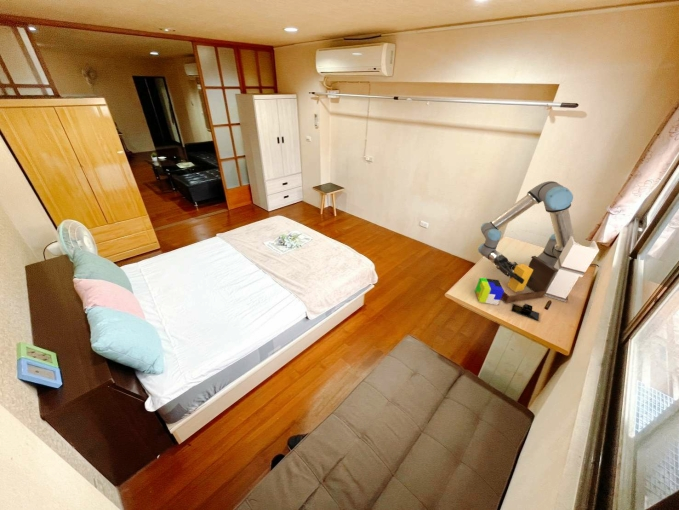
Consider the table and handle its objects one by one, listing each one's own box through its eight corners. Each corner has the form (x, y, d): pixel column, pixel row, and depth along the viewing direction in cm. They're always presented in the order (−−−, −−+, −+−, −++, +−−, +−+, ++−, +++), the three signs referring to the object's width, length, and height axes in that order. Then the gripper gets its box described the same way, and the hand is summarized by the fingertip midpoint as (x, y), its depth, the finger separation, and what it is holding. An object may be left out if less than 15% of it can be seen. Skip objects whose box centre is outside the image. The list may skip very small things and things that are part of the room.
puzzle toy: (497, 304, 148) (504, 290, 143) (479, 301, 150) (484, 288, 145) (492, 293, 157) (498, 280, 152) (475, 290, 158) (480, 277, 153)
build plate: (511, 311, 144) (514, 304, 142) (513, 304, 149) (516, 297, 147) (538, 321, 138) (541, 314, 136) (538, 313, 143) (542, 306, 141)
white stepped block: (566, 302, 152) (599, 250, 133) (544, 295, 156) (573, 244, 138) (564, 291, 160) (595, 241, 142) (543, 285, 165) (570, 235, 146)
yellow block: (515, 284, 161) (524, 264, 153) (523, 290, 156) (533, 269, 148) (507, 285, 160) (516, 265, 152) (514, 291, 155) (524, 271, 147)
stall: (522, 281, 168) (535, 255, 158) (544, 297, 155) (559, 270, 145) (486, 286, 163) (497, 260, 153) (505, 303, 150) (518, 276, 140)
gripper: (508, 262, 172) (538, 284, 153) (483, 266, 168) (511, 288, 149) (513, 253, 168) (544, 273, 149) (487, 256, 164) (516, 277, 145)
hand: (527, 281), depth 149 cm, fingers closed on yellow block, 6 cm apart
